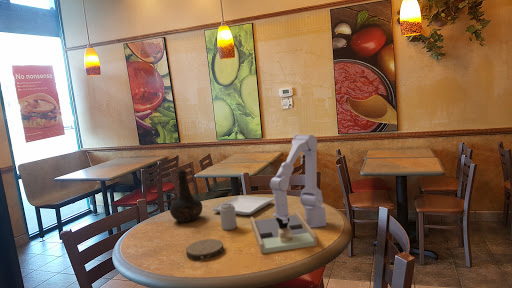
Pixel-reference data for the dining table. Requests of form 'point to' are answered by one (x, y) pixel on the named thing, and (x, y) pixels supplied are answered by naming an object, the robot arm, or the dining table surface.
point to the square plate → (245, 204)
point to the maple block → (285, 234)
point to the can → (228, 216)
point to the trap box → (270, 240)
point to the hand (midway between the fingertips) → (283, 233)
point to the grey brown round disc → (204, 249)
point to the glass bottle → (185, 202)
